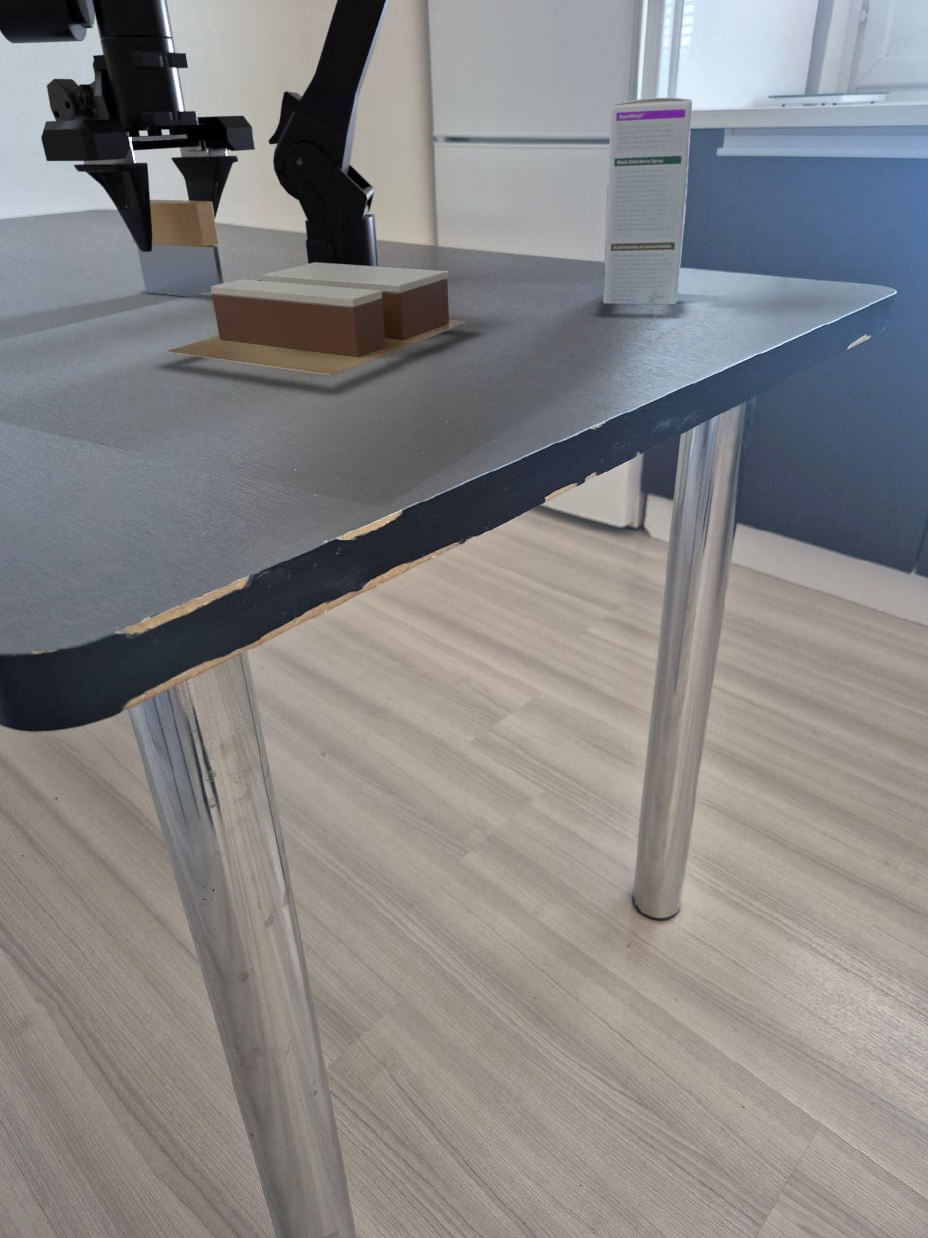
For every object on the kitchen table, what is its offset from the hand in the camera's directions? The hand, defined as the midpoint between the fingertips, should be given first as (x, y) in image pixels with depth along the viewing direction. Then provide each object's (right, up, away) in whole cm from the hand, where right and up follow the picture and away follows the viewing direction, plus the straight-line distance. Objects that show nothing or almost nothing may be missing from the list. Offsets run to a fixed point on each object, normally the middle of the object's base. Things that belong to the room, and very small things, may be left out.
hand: (176, 246), depth 77 cm
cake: (+19, -12, -15) cm, 27 cm away
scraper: (0, -4, +2) cm, 4 cm away
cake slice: (+15, -15, -20) cm, 30 cm away
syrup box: (+40, -9, -9) cm, 42 cm away
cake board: (+17, -15, -18) cm, 29 cm away
